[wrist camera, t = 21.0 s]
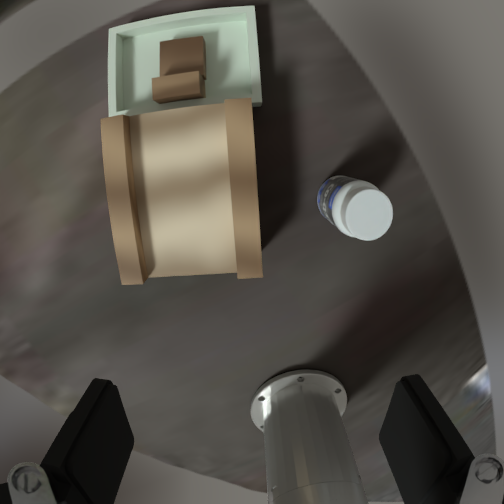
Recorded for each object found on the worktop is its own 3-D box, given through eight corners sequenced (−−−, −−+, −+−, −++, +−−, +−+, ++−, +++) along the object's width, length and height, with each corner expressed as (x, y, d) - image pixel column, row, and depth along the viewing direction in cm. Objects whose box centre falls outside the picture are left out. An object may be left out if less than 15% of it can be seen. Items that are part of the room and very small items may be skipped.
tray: (260, 106, 28) (262, 102, 25) (119, 123, 28) (109, 121, 25) (253, 15, 25) (254, 5, 22) (118, 36, 25) (109, 28, 22)
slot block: (259, 253, 32) (262, 277, 26) (143, 260, 32) (122, 284, 26) (250, 110, 28) (251, 97, 21) (128, 125, 28) (100, 119, 22)
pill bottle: (314, 176, 30) (338, 184, 22) (360, 174, 30) (397, 181, 22) (317, 224, 31) (341, 248, 23) (362, 220, 31) (397, 242, 23)
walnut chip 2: (199, 93, 23) (198, 70, 22) (152, 100, 23) (151, 78, 23) (206, 101, 27) (204, 81, 26) (164, 106, 27) (163, 87, 26)
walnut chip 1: (203, 35, 23) (205, 42, 25) (159, 41, 23) (164, 48, 25) (203, 74, 24) (206, 79, 26) (159, 80, 24) (165, 84, 26)
